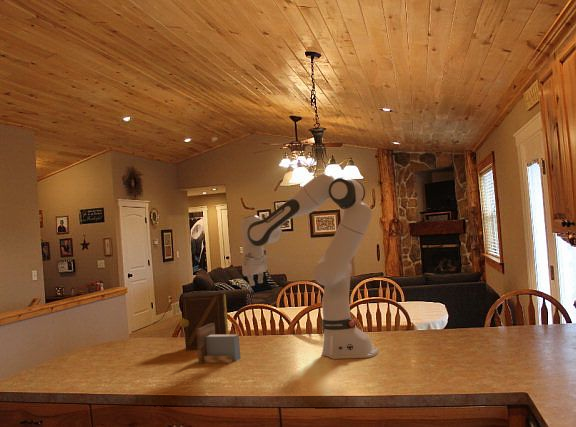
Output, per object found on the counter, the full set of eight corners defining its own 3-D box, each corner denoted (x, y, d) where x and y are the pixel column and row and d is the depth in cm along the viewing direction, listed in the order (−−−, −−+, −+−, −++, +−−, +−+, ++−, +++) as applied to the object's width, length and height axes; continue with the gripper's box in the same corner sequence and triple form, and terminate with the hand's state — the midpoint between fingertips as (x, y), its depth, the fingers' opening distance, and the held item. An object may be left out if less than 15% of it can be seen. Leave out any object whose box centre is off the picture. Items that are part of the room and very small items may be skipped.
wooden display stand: (242, 355, 225) (239, 322, 226) (228, 363, 213) (226, 328, 214) (213, 355, 230) (211, 322, 230) (198, 363, 218) (196, 329, 218)
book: (230, 344, 250) (226, 291, 250) (226, 348, 241) (222, 293, 242) (184, 347, 252) (180, 294, 252) (179, 351, 243) (175, 296, 244)
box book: (240, 358, 221) (238, 334, 221) (235, 361, 217) (234, 336, 217) (212, 358, 225) (210, 334, 226) (207, 361, 221) (205, 336, 221)
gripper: (250, 253, 223) (254, 286, 222) (267, 250, 242) (271, 281, 242) (236, 255, 225) (240, 287, 224) (255, 252, 244) (258, 282, 244)
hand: (256, 284), depth 233 cm, fingers open, 8 cm apart
